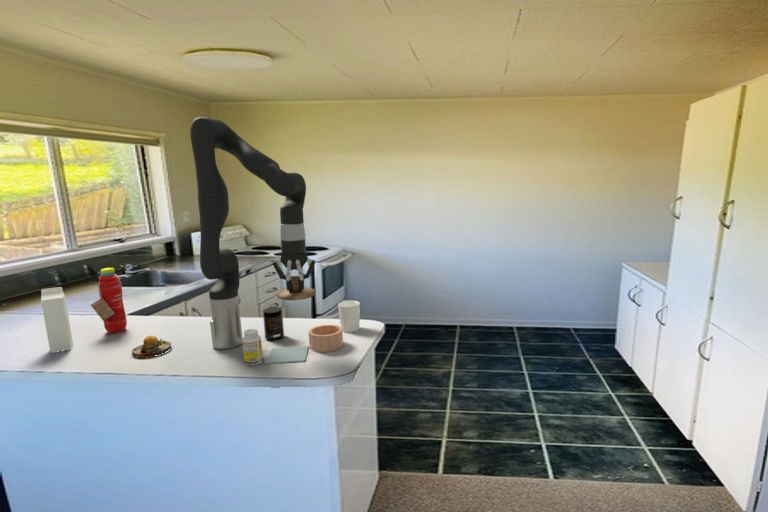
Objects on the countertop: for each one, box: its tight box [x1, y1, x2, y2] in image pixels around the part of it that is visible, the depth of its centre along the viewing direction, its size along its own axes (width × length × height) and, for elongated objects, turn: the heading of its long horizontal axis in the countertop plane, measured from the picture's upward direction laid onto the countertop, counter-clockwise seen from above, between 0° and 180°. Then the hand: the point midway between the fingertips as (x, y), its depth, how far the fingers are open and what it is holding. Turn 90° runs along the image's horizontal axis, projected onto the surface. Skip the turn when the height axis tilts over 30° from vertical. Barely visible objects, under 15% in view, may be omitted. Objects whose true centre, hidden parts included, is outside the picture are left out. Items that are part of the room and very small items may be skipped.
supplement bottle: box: [242, 328, 264, 366], centre depth 138 cm, size 6×6×10 cm
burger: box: [131, 335, 172, 359], centre depth 150 cm, size 12×12×8 cm
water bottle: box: [90, 267, 128, 334], centre depth 170 cm, size 12×8×25 cm, turn 164°
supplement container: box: [262, 306, 285, 342], centre depth 159 cm, size 7×7×10 cm
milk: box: [40, 286, 74, 354], centre depth 155 cm, size 6×6×22 cm
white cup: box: [337, 300, 361, 333], centre depth 165 cm, size 8×8×10 cm
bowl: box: [308, 324, 344, 353], centre depth 150 cm, size 11×11×6 cm
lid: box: [276, 275, 316, 301], centre depth 142 cm, size 12×12×6 cm
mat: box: [265, 345, 310, 365], centre depth 143 cm, size 12×12×1 cm
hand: (295, 291), depth 142 cm, fingers closed on lid, 2 cm apart
